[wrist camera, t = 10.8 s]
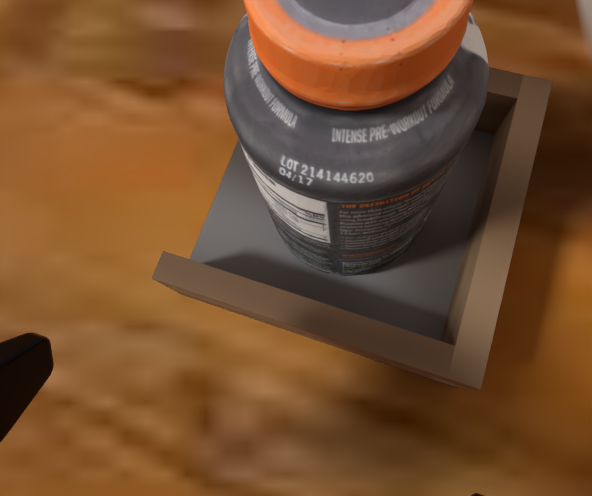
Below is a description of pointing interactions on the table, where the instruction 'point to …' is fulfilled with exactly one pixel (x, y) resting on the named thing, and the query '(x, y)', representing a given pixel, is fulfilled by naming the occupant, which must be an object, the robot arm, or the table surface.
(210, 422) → the table surface
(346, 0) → the pill bottle
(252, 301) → the box
